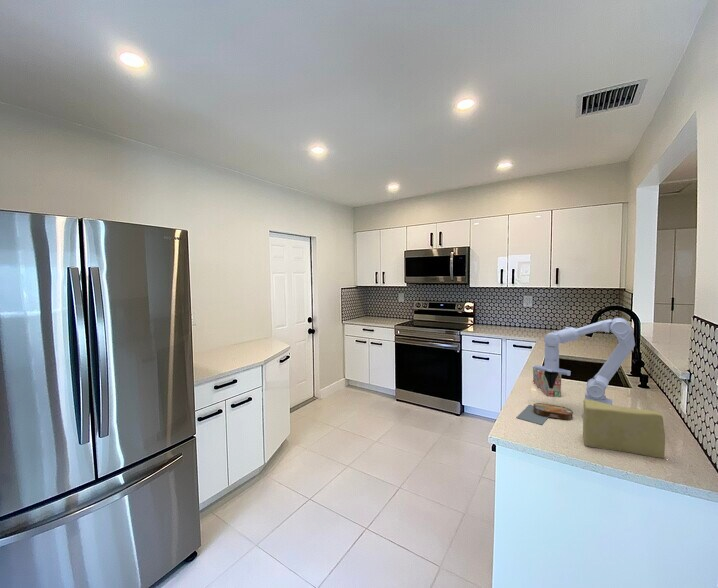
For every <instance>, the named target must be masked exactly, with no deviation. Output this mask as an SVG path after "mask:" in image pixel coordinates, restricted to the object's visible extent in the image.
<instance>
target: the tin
mask: <svg viewBox="0 0 718 588" xmlns="http://www.w3.org/2000/svg"><path fill="white" fill-rule="evenodd" d="M532 406H533V410H534V412H535V413H537V414H539V415H541V416H546V417H548V418H553V419H559V420H569V421H570V420H571V419H572V418H573V414H574V412H573V410H572V409H570V408H567V407H564V406H560V405H554V404H548V403H543V402H542V403H541V402H536V403H533V405H532Z"/></svg>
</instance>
